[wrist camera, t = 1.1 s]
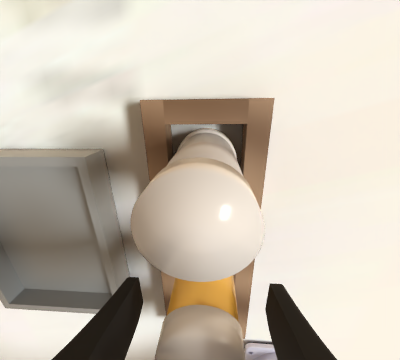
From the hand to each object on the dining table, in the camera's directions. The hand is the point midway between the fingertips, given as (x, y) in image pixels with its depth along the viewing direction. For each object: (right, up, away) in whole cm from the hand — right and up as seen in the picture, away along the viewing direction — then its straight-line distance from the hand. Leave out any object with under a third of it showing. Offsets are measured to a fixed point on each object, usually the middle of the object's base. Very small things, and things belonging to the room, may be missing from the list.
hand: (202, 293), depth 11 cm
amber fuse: (0, +2, +5) cm, 5 cm away
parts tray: (-12, +2, +5) cm, 13 cm away
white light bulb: (0, +8, +2) cm, 8 cm away
